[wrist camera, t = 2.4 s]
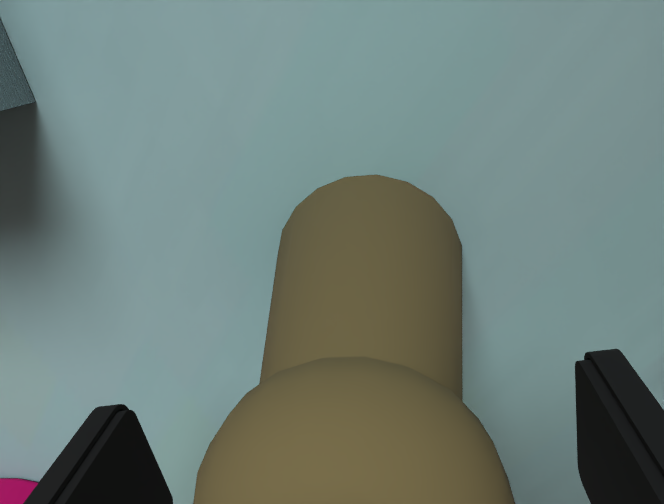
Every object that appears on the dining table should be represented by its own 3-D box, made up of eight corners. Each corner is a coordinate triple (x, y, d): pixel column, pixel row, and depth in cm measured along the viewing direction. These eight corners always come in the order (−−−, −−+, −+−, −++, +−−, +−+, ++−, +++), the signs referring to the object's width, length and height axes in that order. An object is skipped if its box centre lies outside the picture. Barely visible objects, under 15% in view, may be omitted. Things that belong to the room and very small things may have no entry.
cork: (476, 324, 17) (593, 736, 8) (306, 352, 19) (215, 742, 9) (445, 153, 15) (557, 427, 5) (253, 198, 16) (47, 491, 6)
